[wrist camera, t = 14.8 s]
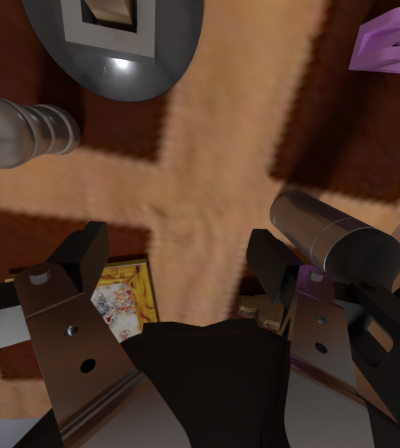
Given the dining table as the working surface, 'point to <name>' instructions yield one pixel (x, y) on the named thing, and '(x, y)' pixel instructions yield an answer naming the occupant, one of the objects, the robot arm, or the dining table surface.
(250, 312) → the wooden carving
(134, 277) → the picture frame
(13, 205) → the dining table surface
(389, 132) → the dining table surface
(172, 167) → the dining table surface
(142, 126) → the dining table surface
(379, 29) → the bracket
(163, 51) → the grey round socket base
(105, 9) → the tan rectangular block
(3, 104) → the plastic bottle
